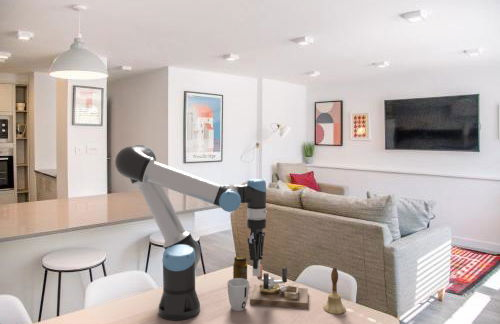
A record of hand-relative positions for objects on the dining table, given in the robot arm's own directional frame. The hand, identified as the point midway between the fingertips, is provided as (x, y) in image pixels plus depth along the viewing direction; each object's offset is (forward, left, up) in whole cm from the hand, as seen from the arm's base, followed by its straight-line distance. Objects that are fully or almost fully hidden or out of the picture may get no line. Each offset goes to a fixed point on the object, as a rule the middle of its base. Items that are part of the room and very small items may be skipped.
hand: (256, 275), depth 158 cm
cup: (-5, -12, -9) cm, 16 cm away
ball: (+11, -1, -6) cm, 13 cm away
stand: (+10, -1, -9) cm, 13 cm away
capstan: (+7, -1, -6) cm, 9 cm away
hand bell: (+31, -7, -9) cm, 33 cm away
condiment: (-8, +10, -9) cm, 16 cm away
